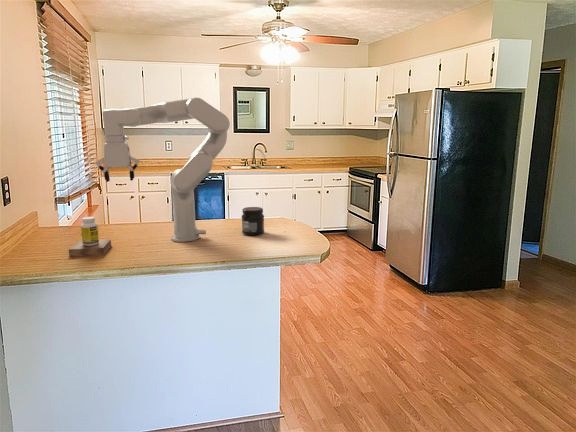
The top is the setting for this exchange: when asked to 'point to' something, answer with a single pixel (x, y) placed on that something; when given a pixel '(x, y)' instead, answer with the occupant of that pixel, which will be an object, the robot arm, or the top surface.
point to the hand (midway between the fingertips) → (120, 180)
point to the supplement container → (252, 221)
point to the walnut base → (90, 249)
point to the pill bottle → (89, 231)
